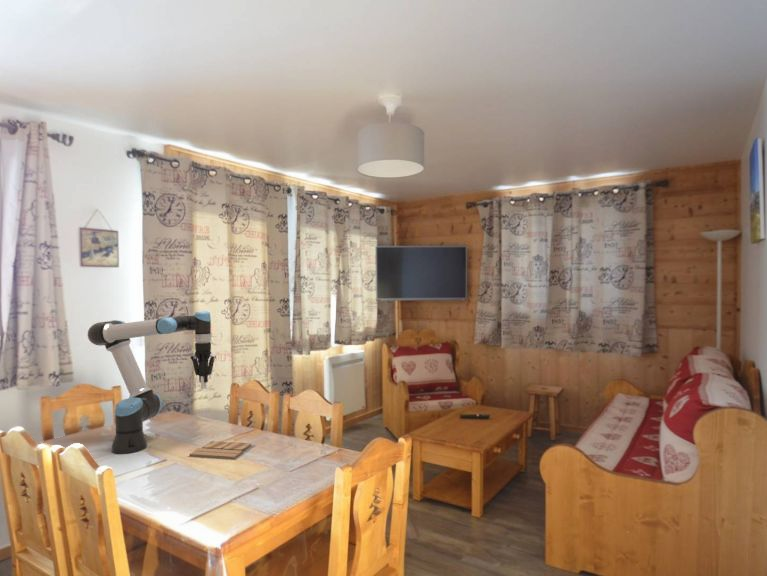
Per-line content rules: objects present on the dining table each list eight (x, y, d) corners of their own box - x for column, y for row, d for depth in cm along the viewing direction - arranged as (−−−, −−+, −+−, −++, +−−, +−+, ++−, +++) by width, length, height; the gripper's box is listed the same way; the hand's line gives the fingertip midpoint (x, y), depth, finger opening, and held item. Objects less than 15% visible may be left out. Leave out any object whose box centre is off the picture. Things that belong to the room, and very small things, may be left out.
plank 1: (202, 449, 228) (201, 447, 228) (212, 443, 237) (212, 441, 237) (221, 450, 226) (221, 448, 226) (231, 444, 235) (231, 442, 235)
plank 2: (222, 451, 226) (222, 448, 226) (232, 444, 235) (231, 442, 235) (242, 452, 224) (242, 449, 224) (251, 445, 233) (251, 443, 233)
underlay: (186, 459, 219) (186, 453, 219) (210, 444, 239) (210, 439, 239) (235, 462, 215) (235, 457, 215) (256, 447, 234) (255, 442, 234)
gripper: (186, 342, 242) (187, 390, 242) (210, 343, 239) (211, 390, 239) (195, 341, 249) (196, 386, 249) (218, 341, 247) (219, 387, 247)
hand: (203, 388), depth 244 cm, fingers closed
